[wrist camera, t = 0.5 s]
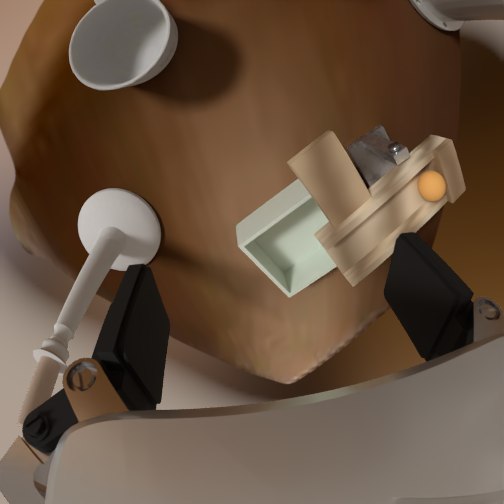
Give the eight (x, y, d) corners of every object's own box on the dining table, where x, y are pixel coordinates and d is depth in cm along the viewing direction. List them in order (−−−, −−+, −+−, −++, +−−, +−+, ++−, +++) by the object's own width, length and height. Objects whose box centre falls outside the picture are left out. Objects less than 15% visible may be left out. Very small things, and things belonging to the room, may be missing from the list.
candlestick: (179, 234, 38) (141, 467, 12) (124, 281, 41) (72, 468, 16) (114, 168, 32) (-46, 358, 6) (65, 228, 35) (-42, 398, 10)
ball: (423, 162, 26) (446, 167, 23) (432, 185, 28) (453, 192, 25) (407, 179, 26) (431, 186, 23) (417, 203, 28) (439, 211, 25)
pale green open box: (314, 166, 34) (329, 179, 30) (352, 225, 40) (368, 244, 35) (235, 225, 38) (238, 246, 33) (282, 274, 43) (289, 297, 38)
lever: (402, 74, 22) (424, 73, 19) (446, 181, 29) (465, 189, 26) (267, 175, 25) (278, 184, 22) (343, 274, 32) (356, 291, 29)
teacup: (189, 74, 27) (179, 68, 20) (105, 101, 27) (75, 106, 20) (172, -19, 19) (159, -45, 13) (90, 11, 19) (60, -3, 13)
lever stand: (377, 121, 31) (417, 134, 24) (407, 185, 37) (443, 210, 29) (343, 144, 33) (377, 162, 25) (378, 207, 38) (410, 236, 31)
